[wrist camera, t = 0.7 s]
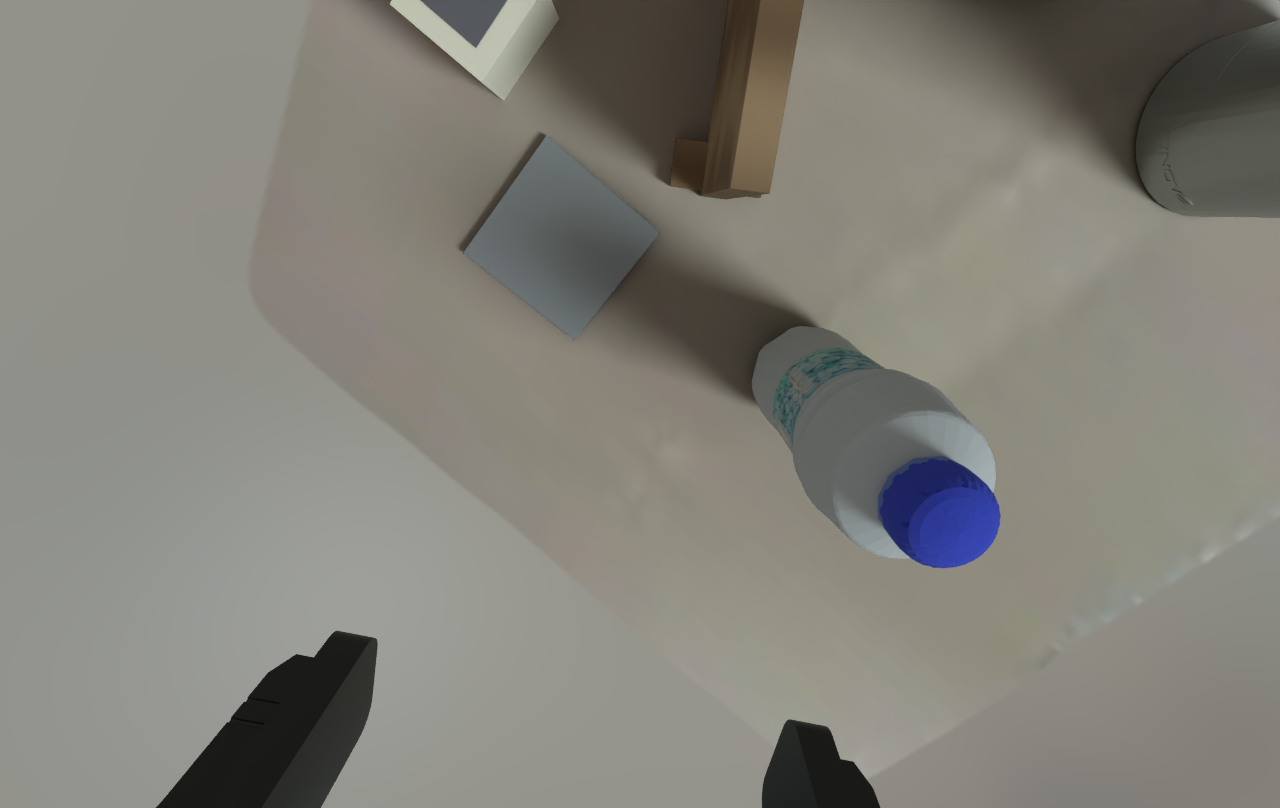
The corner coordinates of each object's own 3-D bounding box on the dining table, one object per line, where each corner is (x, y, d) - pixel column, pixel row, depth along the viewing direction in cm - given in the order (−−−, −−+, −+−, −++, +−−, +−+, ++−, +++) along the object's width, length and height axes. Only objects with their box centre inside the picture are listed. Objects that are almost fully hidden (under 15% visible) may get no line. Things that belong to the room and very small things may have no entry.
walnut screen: (708, -105, 30) (751, -297, 19) (807, -90, 31) (908, -270, 19) (668, 191, 34) (684, 181, 23) (756, 203, 35) (814, 199, 23)
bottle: (721, 386, 38) (806, 564, 19) (786, 295, 36) (952, 388, 17) (807, 441, 39) (969, 662, 20) (874, 355, 37) (1121, 506, 18)
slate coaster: (548, 136, 34) (546, 135, 33) (659, 232, 35) (660, 232, 35) (465, 252, 35) (463, 253, 35) (575, 338, 37) (574, 340, 37)
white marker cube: (559, 19, 32) (545, -16, 27) (504, 101, 33) (481, 82, 28) (479, -54, 31) (449, -103, 26) (424, 33, 32) (386, 1, 27)
